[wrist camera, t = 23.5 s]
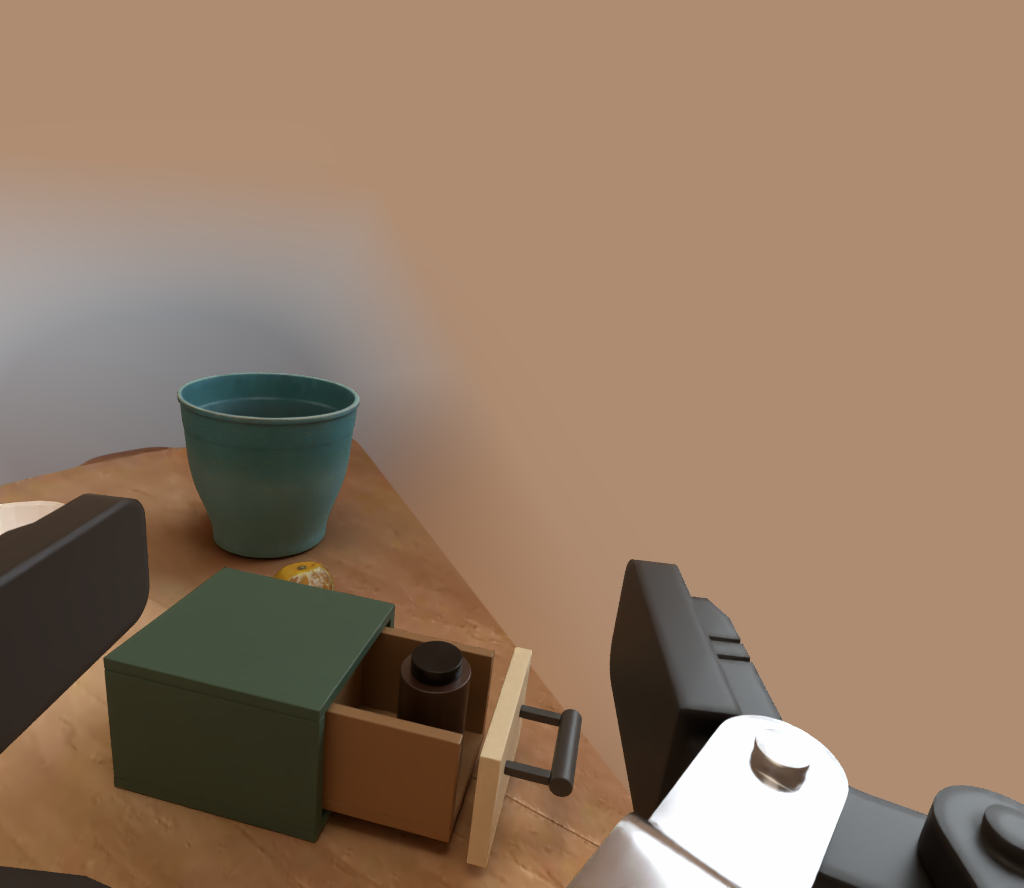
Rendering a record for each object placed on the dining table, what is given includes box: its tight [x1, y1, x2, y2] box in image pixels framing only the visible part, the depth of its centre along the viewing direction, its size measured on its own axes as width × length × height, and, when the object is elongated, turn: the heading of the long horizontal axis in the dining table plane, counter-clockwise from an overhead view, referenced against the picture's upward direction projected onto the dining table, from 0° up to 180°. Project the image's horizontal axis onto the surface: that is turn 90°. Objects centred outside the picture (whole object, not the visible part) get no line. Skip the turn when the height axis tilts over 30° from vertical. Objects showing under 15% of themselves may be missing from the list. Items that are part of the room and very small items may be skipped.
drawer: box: [322, 627, 582, 868], centre depth 42 cm, size 17×10×8 cm, turn 79°
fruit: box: [273, 561, 334, 591], centre depth 61 cm, size 8×8×4 cm
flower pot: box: [177, 373, 359, 558], centre depth 71 cm, size 18×18×17 cm
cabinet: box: [104, 567, 395, 842], centre depth 44 cm, size 14×12×10 cm
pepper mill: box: [397, 641, 471, 771], centre depth 41 cm, size 4×4×8 cm
